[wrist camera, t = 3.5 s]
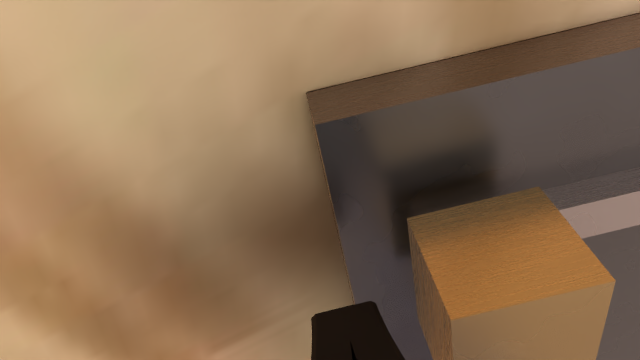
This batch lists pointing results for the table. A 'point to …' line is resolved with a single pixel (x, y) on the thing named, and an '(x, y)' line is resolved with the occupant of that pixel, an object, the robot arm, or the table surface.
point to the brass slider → (507, 282)
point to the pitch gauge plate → (490, 160)
